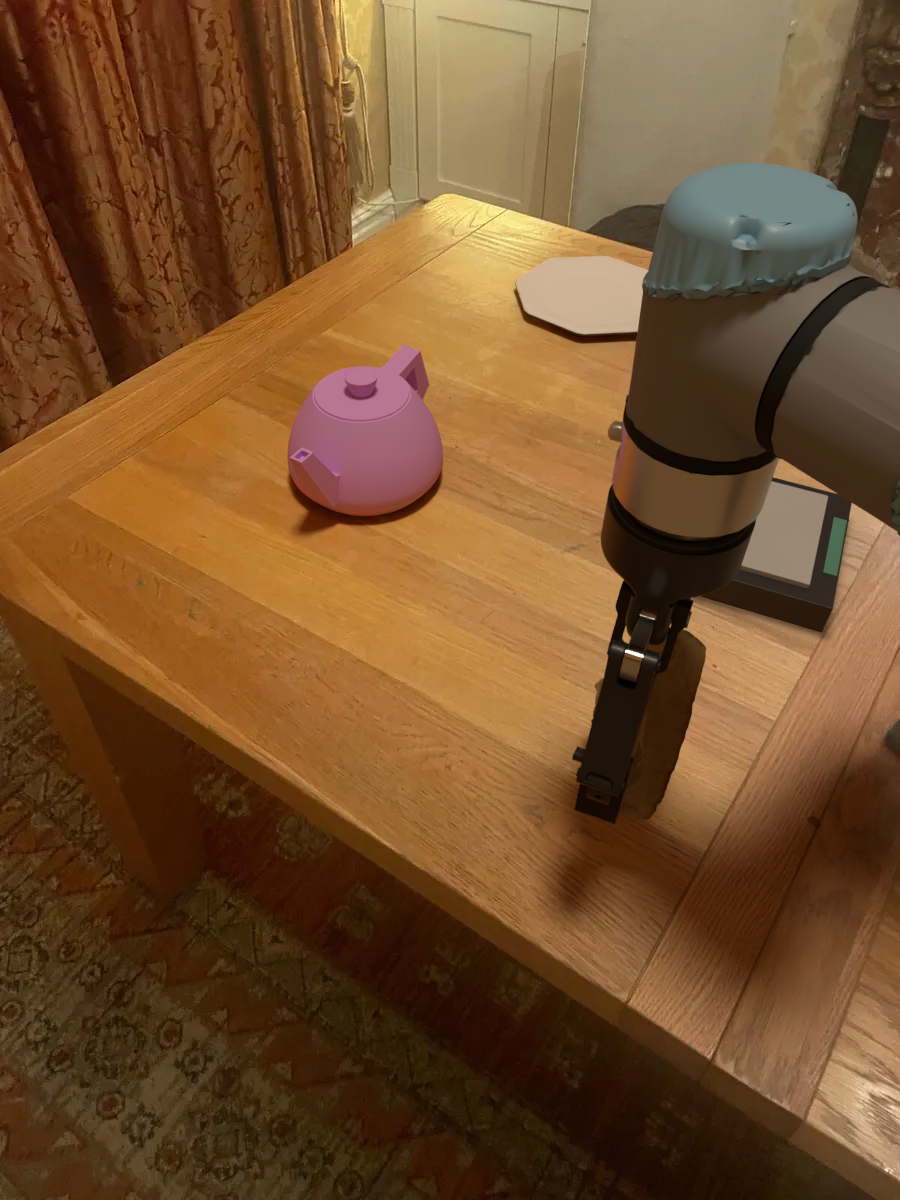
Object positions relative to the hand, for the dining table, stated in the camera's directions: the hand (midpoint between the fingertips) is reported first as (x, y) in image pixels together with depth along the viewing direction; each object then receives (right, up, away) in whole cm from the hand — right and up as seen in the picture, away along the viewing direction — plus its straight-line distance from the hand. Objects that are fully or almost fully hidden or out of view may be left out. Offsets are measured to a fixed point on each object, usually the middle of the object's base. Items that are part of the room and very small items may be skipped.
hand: (619, 746), depth 62 cm
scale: (+17, +15, +25) cm, 33 cm away
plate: (+7, +49, +56) cm, 75 cm away
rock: (0, -1, 0) cm, 1 cm away
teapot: (-20, +23, +31) cm, 43 cm away
